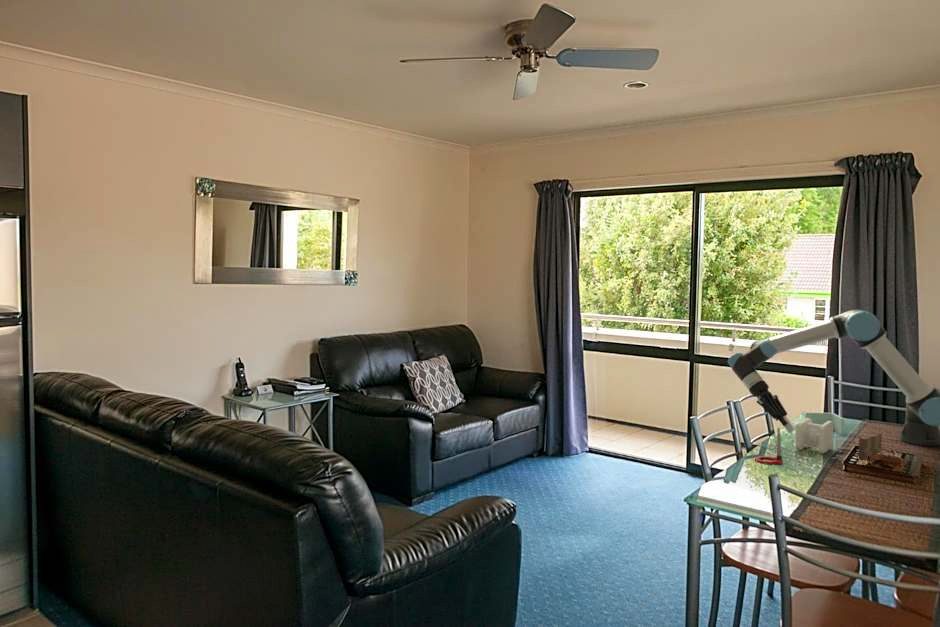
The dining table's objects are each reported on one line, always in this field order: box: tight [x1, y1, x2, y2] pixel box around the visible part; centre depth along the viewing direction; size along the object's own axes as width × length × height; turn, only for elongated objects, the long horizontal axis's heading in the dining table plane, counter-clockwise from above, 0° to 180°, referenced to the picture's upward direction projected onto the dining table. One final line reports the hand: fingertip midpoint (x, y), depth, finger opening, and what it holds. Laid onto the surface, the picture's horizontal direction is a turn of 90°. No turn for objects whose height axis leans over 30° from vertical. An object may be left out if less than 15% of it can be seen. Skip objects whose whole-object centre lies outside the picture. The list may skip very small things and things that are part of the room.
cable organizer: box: [794, 417, 834, 455], centre depth 272 cm, size 15×11×12 cm
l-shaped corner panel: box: [804, 411, 845, 435], centre depth 305 cm, size 12×12×8 cm
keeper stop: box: [858, 432, 883, 460], centre depth 260 cm, size 14×13×10 cm
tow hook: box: [754, 427, 783, 465], centre depth 256 cm, size 8×13×9 cm
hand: (792, 431), depth 279 cm, fingers closed
